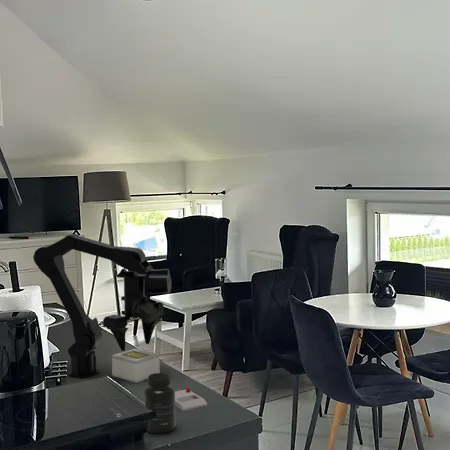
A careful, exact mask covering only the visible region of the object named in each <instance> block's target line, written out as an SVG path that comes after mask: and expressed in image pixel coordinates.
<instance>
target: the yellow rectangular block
mask: <svg viewBox="0 0 450 450" xmlns="http://www.w3.org/2000/svg"><path fill="white" fill-rule="evenodd" d="M126 356H128V357H132V358H136V359H139V358H142V357H145V356H146V355H144V354H139V353H134V352H132V353H129V354H126Z"/></svg>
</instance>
